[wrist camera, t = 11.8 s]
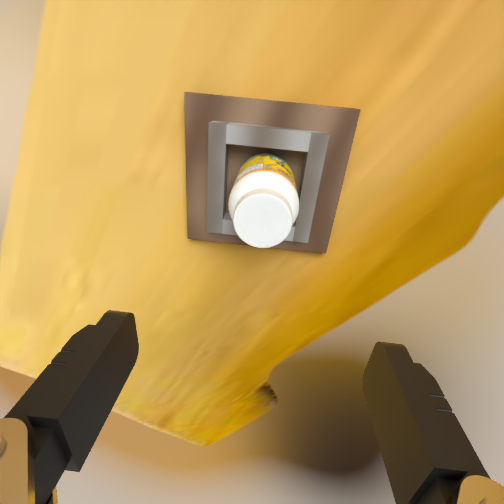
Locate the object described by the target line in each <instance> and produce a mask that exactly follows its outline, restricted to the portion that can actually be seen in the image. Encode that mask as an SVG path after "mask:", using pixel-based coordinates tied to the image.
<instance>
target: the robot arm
mask: <svg viewBox="0 0 504 504" xmlns="http://www.w3.org/2000/svg"><path fill="white" fill-rule="evenodd" d="M138 350H139V344H138V337H137V331H136V324H135V317H134V314H133V313H129V312H120V311H111V310H109V311H107V312H106V313H105V314H104V315H103V316H102V318H101V319H100V320H99V322H98V323H97V324H96V325H87V326H86V327H84V328H83V329H81V330H80V331H79V332H77V333H76V334H74V335H73V336H72V337H71V338H70V339H69V341H68V342H67V343H66V344H65V345H64V347H63V348H62V349H61V352H59V353H58V354H57V355H56V356H55V357H54V359H53V360H52V362H51V364H49V365H48V366H47V367H46V368H45V370H44V371H43V372H42V373H41V374H40V376H39V377H38V378H37V379H36V380H35V382H34V383H33V384H32V385H31V386H30V388H29V389H28V390H27V391H26V392H25V394H24V395H23V396H22V397H21V399H20V400H19V401H18V402H17V403H16V405H15V406H14V407H13V408H12V409H11V411H10V412H9V413H8V414H7V415H6V416H5V417H4V418H2V419H0V504H58V503H57V490H56V484H57V483H58V481H59V479H60V477H61V475H62V474H63V472H64V470H68V471H76V472H80V470H81V468H82V466H83V464H84V462H85V460H86V458H87V456H88V454H89V452H90V450H91V448H92V446H93V445H94V442H95V441H96V438H97V437H98V435H99V433H100V431H101V429H102V427H103V425H104V423H105V421H106V419H107V417H108V415H109V413H110V412H111V410H112V408H113V406H114V404H115V402H116V400H117V398H118V396H119V394H120V392H121V390H122V388H123V386H124V384H125V382H126V380H127V379H128V377H129V375H130V373H131V371H132V369H133V367H134V365H135V363H136V360H137V356H138ZM363 390H364V394H365V398H366V401H367V405H368V408H369V412H370V415H371V419H372V422H373V425H374V429H375V433H376V436H377V439H378V443H379V446H380V450H381V453H382V457H383V460H384V463H385V467H386V470H387V474H388V477H389V481H390V484H391V488H392V491H393V495H394V498H395V502H396V504H504V487H503V486H502V485H500V484H499V483H497V482H495V481H493V480H492V479H491V478H490V477H489V475H488V474H487V472H486V471H485V469H484V467H483V465H482V463H481V461H480V460H479V458H478V456H477V454H476V452H475V451H474V449H473V447H472V445H471V443H470V441H469V440H468V438H467V436H466V434H465V432H464V431H463V429H462V427H461V425H460V423H459V422H458V420H457V418H456V416H455V414H454V413H452V409H451V407H450V405H449V403H448V401H447V400H446V399H445V398H444V394H443V392H442V390H441V389H440V387H439V385H438V383H437V381H436V380H435V378H434V377H433V376H432V375H431V374H430V373H429V372H428V371H427V370H426V369H425V368H424V367H423V366H422V365H421V364H419V363H413V361H412V359H411V357H410V355H409V353H408V351H407V349H406V347H405V346H403V345H402V344H393V343H385V342H377V343H376V344H375V346H374V349H373V351H372V354H371V356H370V359H369V361H368V364H367V366H366V369H365V371H364V375H363Z"/></svg>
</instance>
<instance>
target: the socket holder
mask: <svg viewBox="0 0 504 504" xmlns="http://www.w3.org/2000/svg"><path fill="white" fill-rule="evenodd" d="M184 93H185V138H186V183H187V228H188V239H196V240H206V241H215V242H224V243H234V244H243V245H249V244H247V243H245V242H244V241H243V240H241V238H240V237H239V236H238V235H237V233H236V231H235V228H234V224H233V221H232V219H231V216H230V213H229V208H228V202H229V196H230V193H231V190H232V188H233V185H234V182H235V180H236V177H237V175H238V172H239V170H240V168H241V167H242V165H243V164H244V163H245V162H246V161H247V160H248V159H250V158H251V157H253V156H255V155H258V154H272V155H275V156H277V157H279V158H281V159H283V160H284V161H285V162H286V163H287V164H288V165H289V167H290V168H291V170H292V173H293V176H294V180H295V185H296V189H297V193H298V198H299V212H298V216H297V218H296V220H295V222H294V224H293V225H292V227H291V230H290V233H289V234H288V236H287V237H286V238H285V239H284V240H283V241H282V242H281V243H279V244H277V245H275V246H273V247H271V248H280V249H289V250H298V251H308V252H317V253H326V251H327V247H328V242H329V238H330V234H331V230H332V226H333V222H334V217H335V213H336V209H337V205H338V201H339V197H340V192H341V188H342V184H343V180H344V176H345V171H346V167H347V163H348V159H349V155H350V151H351V146H352V142H353V138H354V134H355V130H356V126H357V121H358V117H359V113H360V109H353V108H343V107H332V106H322V105H312V104H302V103H292V102H282V101H272V100H262V99H252V98H242V97H232V96H222V95H212V94H202V93H192V92H184Z"/></svg>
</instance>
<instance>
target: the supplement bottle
mask: <svg viewBox="0 0 504 504" xmlns="http://www.w3.org/2000/svg"><path fill="white" fill-rule="evenodd" d="M228 208H229V213H230V216H231V219H232V221H233V224H234V228H235V231H236V233H237V235H238V236H239V237H240V238H241V240H243V241H244V242H245V243H247V244H249V245H251V246H254V247H258V248H269V247H273V246H275V245H277V244H279V243H281V242H282V241H283V240H284V239H285V238H286V237H287V236H288V234H289V233H290V230H291V227H292V225H293V224H294V222H295V220H296V218H297V216H298V212H299V198H298V193H297V189H296V185H295V180H294V176H293V173H292V170H291V168H290V167H289V165H288V164H287V163H286V162H285V161H284V160H283V159H281V158H279V157H277V156H275V155H272V154H258V155H255V156H253V157H251V158H250V159H248V160H247V161H246V162H245V163H244V164H243V165H242V167H241V168H240V170H239V172H238V175H237V177H236V180H235V182H234V185H233V188H232V190H231V193H230V196H229V202H228Z"/></svg>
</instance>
